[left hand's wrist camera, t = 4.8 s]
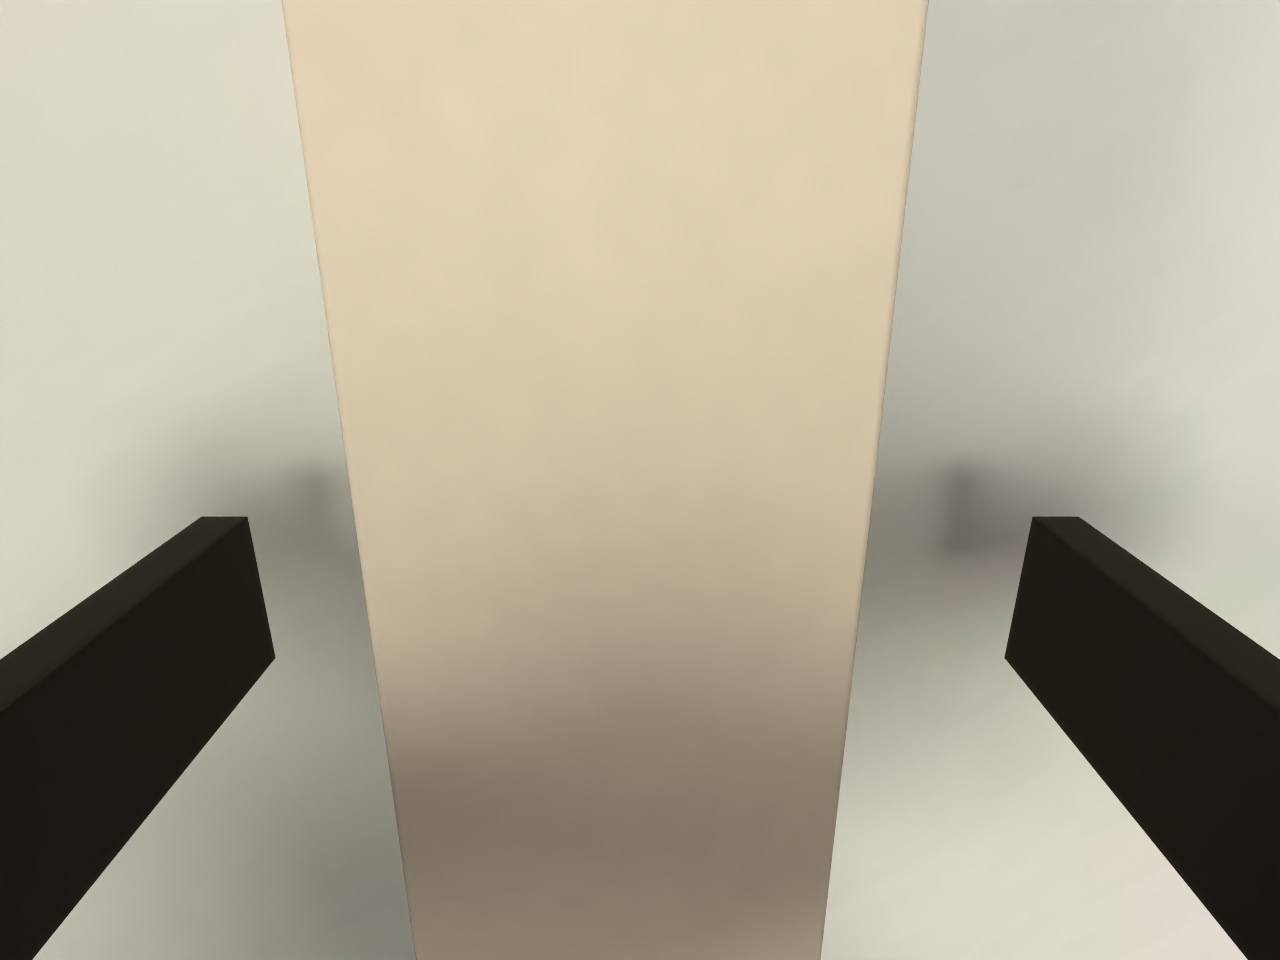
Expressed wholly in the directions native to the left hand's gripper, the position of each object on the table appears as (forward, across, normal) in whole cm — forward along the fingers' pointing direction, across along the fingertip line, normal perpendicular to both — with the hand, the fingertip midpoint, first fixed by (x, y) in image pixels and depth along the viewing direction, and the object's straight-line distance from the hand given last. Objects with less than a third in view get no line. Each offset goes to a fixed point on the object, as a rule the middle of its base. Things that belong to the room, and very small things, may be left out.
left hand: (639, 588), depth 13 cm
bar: (+4, 0, -32) cm, 32 cm away
